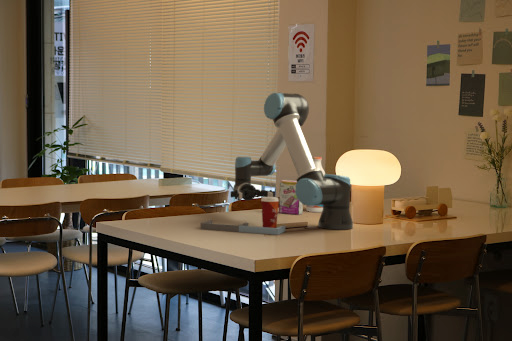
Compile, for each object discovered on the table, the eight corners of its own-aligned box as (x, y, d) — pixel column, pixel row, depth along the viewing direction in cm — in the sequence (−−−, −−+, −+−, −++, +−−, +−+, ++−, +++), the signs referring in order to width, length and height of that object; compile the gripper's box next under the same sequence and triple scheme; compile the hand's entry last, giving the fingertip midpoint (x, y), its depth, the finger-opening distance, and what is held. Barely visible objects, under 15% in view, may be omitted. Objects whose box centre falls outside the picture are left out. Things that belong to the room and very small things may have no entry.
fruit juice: (309, 209, 386) (311, 156, 384) (326, 211, 382) (328, 157, 380) (303, 211, 377) (305, 156, 375) (321, 213, 374) (323, 157, 372)
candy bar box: (278, 213, 369) (279, 180, 368) (282, 212, 373) (283, 179, 372) (298, 215, 364) (299, 181, 362) (303, 214, 368) (304, 181, 367)
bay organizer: (285, 231, 311) (285, 225, 311) (278, 234, 301) (278, 228, 301) (209, 225, 321) (209, 219, 321) (200, 228, 311) (200, 223, 311)
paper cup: (277, 232, 307) (277, 198, 306) (258, 231, 308) (259, 198, 307) (279, 229, 315) (280, 196, 314) (262, 228, 316) (262, 196, 315)
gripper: (272, 199, 345) (284, 204, 324) (220, 199, 339) (228, 204, 319) (273, 183, 344) (284, 187, 323) (220, 183, 339) (228, 187, 318)
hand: (256, 196), depth 321 cm, fingers open, 13 cm apart
